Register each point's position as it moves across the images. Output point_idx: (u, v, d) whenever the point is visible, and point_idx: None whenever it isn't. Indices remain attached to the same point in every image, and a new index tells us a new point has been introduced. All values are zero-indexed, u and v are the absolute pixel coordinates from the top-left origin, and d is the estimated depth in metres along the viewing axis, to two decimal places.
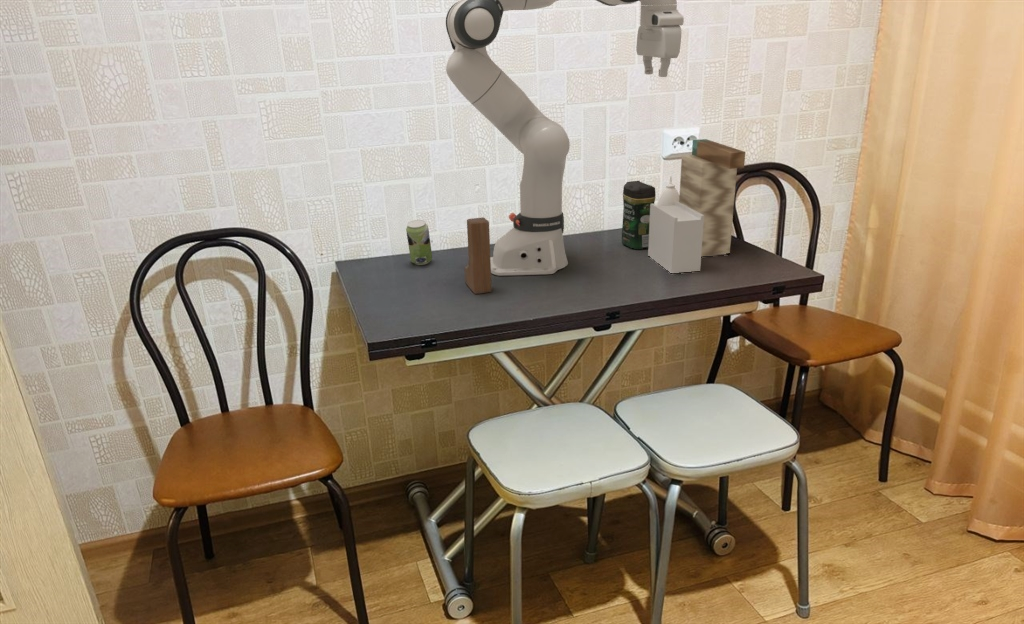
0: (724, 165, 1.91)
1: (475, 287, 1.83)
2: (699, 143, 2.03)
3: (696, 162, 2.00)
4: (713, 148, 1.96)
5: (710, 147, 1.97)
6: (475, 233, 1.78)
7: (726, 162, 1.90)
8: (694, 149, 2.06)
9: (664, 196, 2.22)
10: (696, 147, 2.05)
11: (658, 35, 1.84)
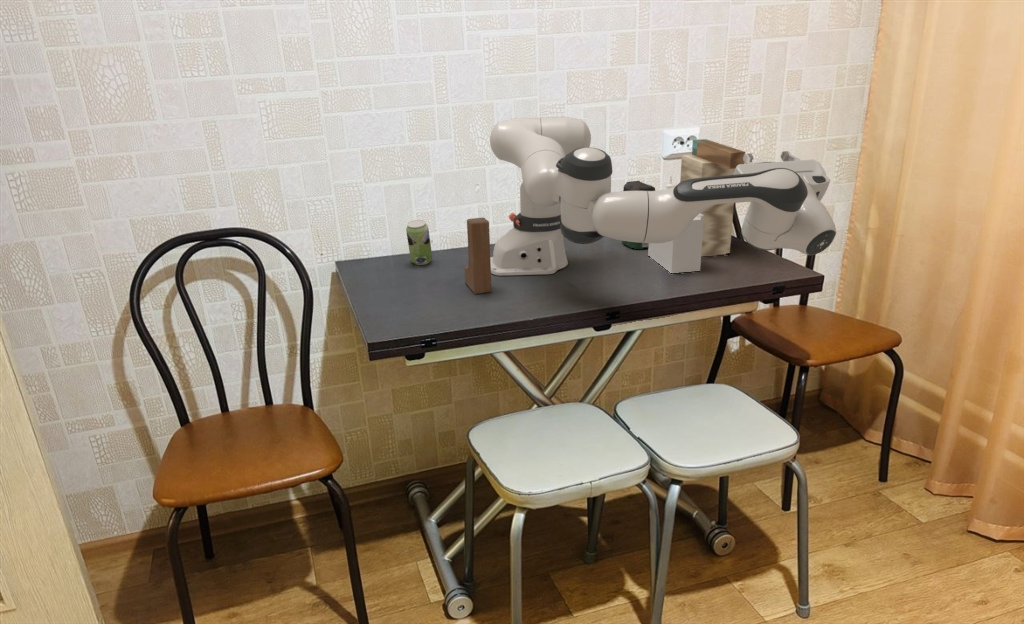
0: (724, 165, 1.91)
1: (475, 287, 1.83)
2: (699, 143, 2.03)
3: (696, 162, 2.00)
4: (713, 148, 1.96)
5: (710, 147, 1.97)
6: (475, 233, 1.78)
7: (726, 162, 1.90)
8: (694, 149, 2.06)
9: None
10: (696, 147, 2.05)
11: None
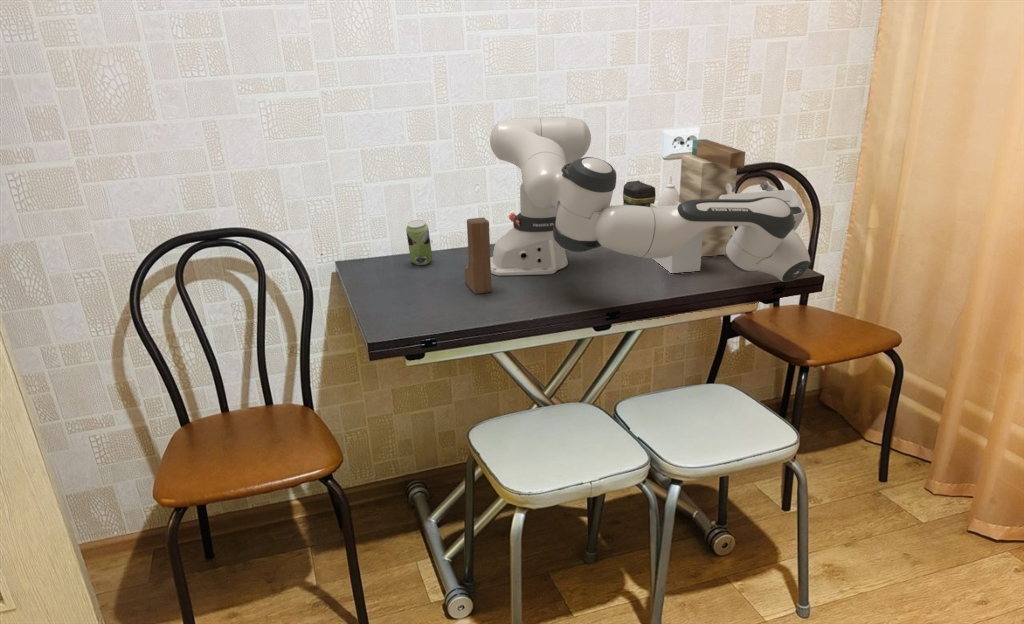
0: (724, 165, 1.91)
1: (475, 287, 1.83)
2: (699, 143, 2.03)
3: (696, 162, 2.00)
4: (713, 148, 1.96)
5: (710, 147, 1.97)
6: (475, 233, 1.78)
7: (726, 162, 1.90)
8: (694, 149, 2.06)
9: (664, 196, 2.22)
10: (696, 147, 2.05)
11: None
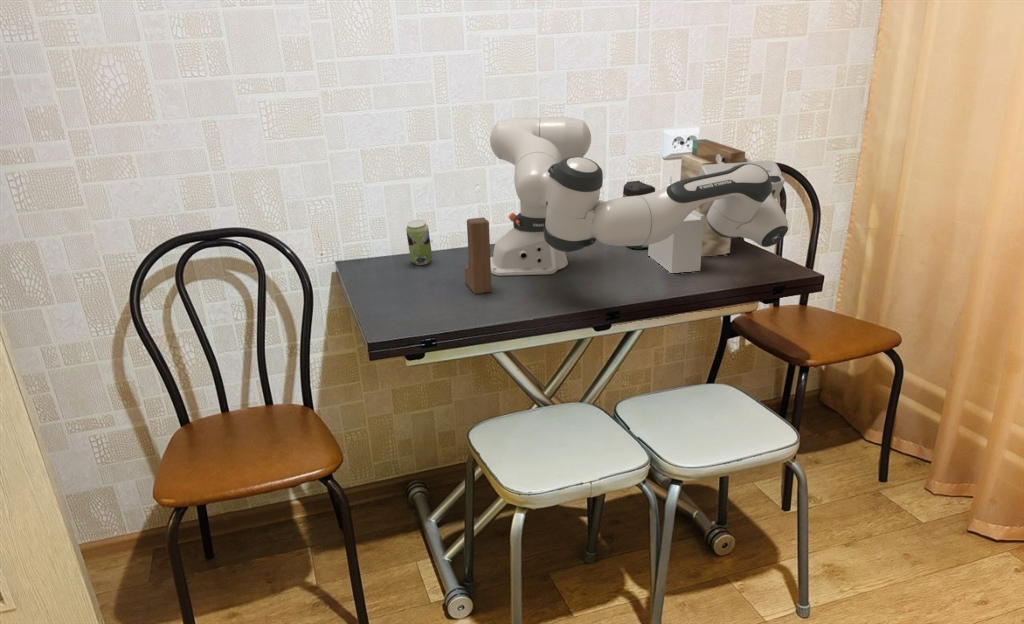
0: None
1: (475, 287, 1.83)
2: (699, 143, 2.03)
3: (696, 162, 2.00)
4: (713, 148, 1.96)
5: (710, 147, 1.97)
6: (475, 233, 1.78)
7: (726, 162, 1.90)
8: (694, 149, 2.06)
9: None
10: (696, 147, 2.05)
11: None
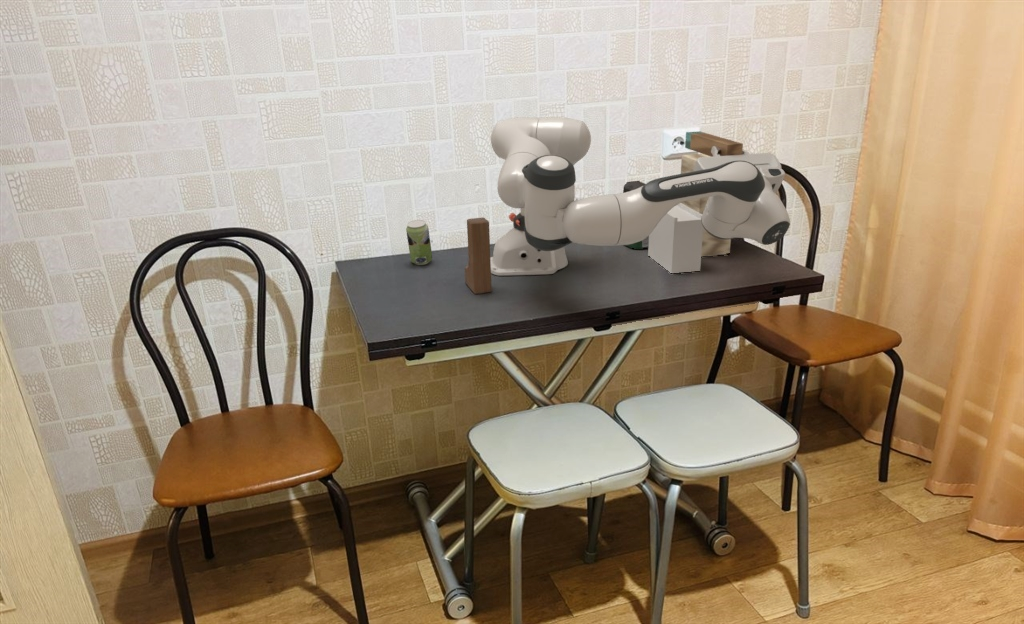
0: None
1: (475, 287, 1.83)
2: (693, 135, 1.92)
3: None
4: (708, 140, 1.84)
5: (705, 139, 1.86)
6: (475, 233, 1.78)
7: (722, 155, 1.78)
8: (688, 142, 1.95)
9: None
10: (690, 139, 1.94)
11: None
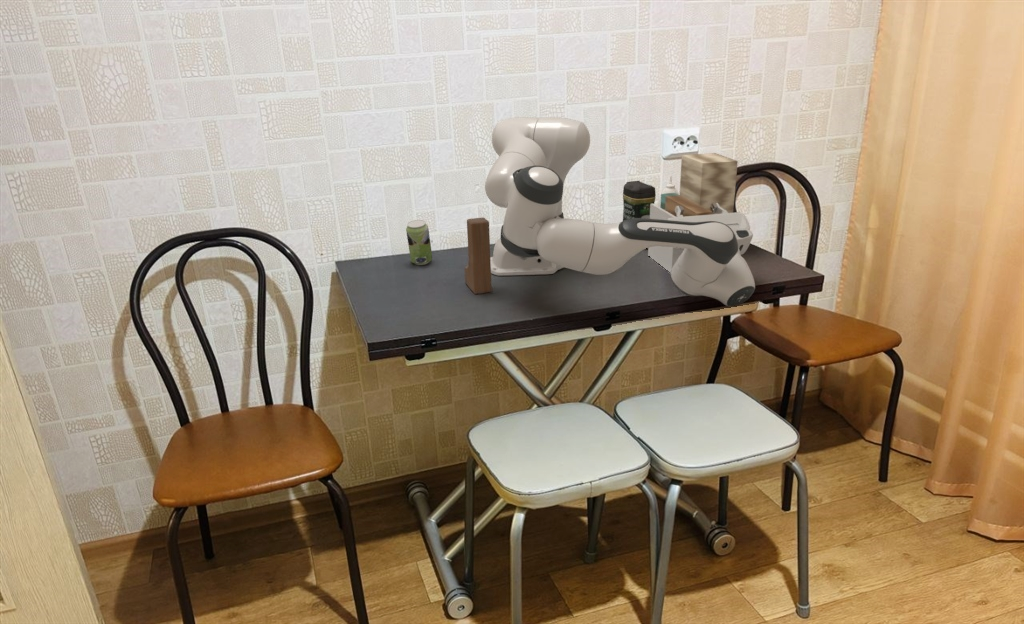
0: None
1: (475, 287, 1.83)
2: (667, 198, 1.96)
3: (696, 162, 2.00)
4: (680, 205, 1.89)
5: (677, 204, 1.90)
6: (475, 233, 1.78)
7: None
8: (663, 203, 1.99)
9: None
10: (664, 201, 1.98)
11: None
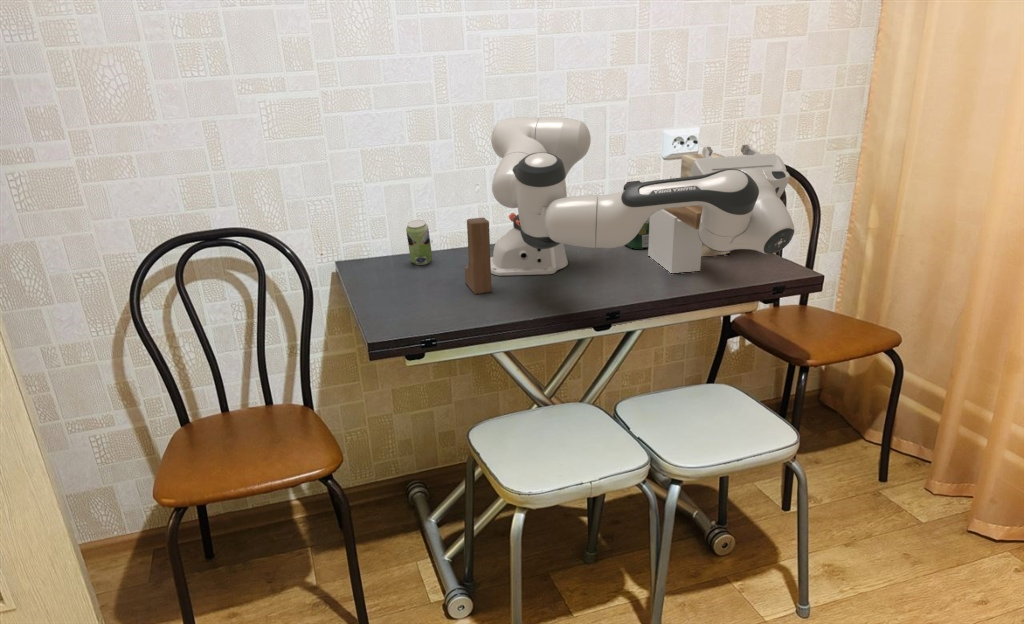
0: (691, 225, 1.84)
1: (475, 287, 1.83)
2: None
3: None
4: None
5: None
6: (475, 233, 1.78)
7: (692, 222, 1.83)
8: None
9: None
10: None
11: None
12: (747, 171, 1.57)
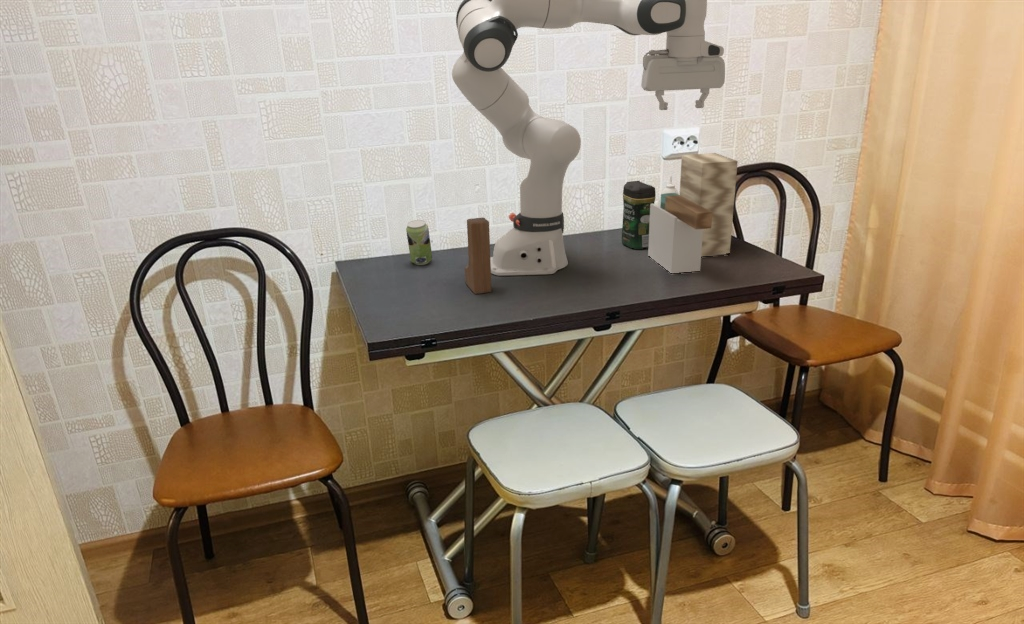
0: (691, 225, 1.84)
1: (475, 287, 1.83)
2: (667, 198, 1.96)
3: (696, 162, 2.00)
4: (680, 205, 1.89)
5: (677, 204, 1.90)
6: (475, 233, 1.78)
7: (692, 222, 1.83)
8: (663, 203, 1.99)
9: None
10: (664, 201, 1.98)
11: (703, 66, 1.78)
12: None
